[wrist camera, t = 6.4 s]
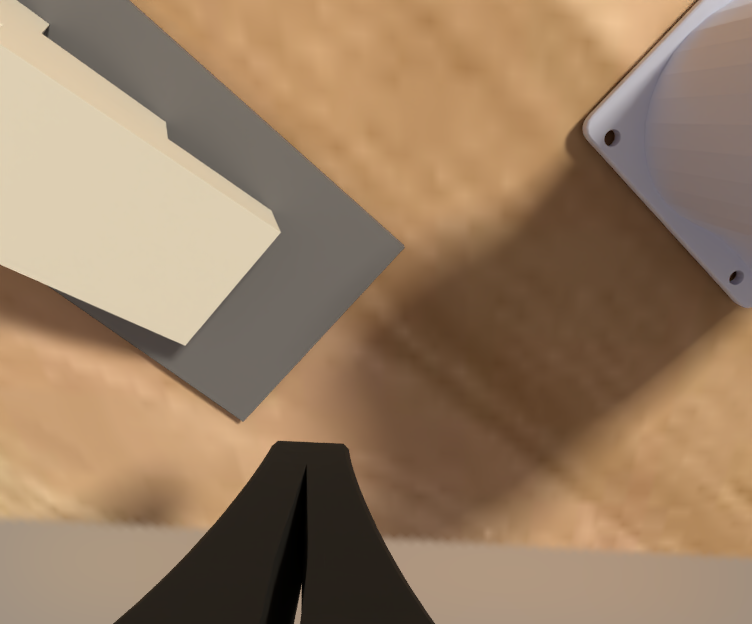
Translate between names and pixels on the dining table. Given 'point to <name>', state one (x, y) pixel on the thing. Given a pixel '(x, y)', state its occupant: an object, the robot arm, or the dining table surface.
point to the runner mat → (256, 178)
